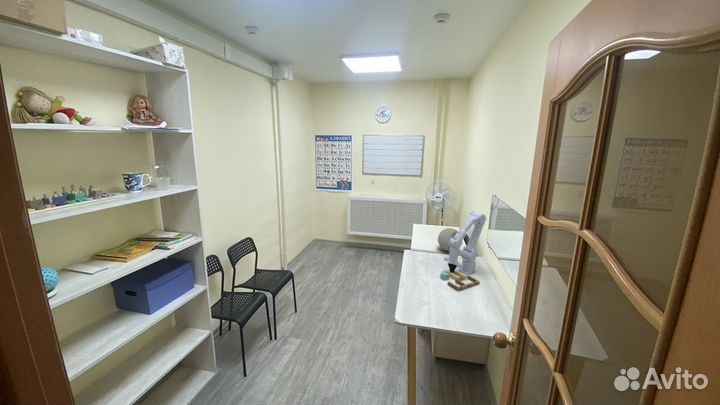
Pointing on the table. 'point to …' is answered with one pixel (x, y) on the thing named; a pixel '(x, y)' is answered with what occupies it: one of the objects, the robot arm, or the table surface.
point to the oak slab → (457, 275)
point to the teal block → (444, 276)
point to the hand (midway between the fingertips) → (451, 273)
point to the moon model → (446, 238)
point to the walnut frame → (464, 286)
